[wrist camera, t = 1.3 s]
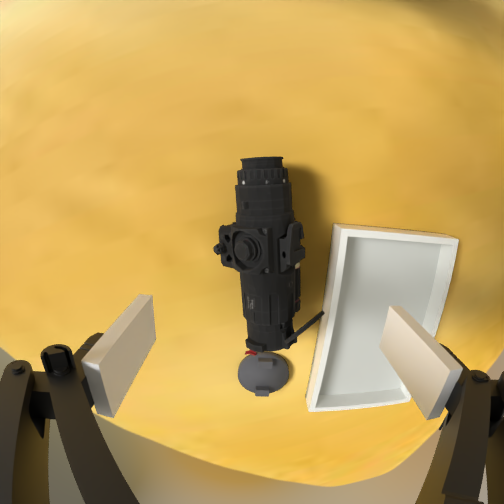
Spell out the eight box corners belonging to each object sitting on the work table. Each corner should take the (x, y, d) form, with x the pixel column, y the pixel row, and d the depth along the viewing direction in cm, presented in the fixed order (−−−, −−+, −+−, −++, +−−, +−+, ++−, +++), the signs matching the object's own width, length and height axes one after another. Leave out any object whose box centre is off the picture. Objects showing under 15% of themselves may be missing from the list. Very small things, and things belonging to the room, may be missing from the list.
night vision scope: (254, 160, 30) (344, 156, 24) (263, 316, 35) (339, 339, 29) (195, 163, 24) (296, 153, 18) (215, 345, 29) (298, 382, 23)
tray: (333, 222, 29) (341, 228, 26) (444, 233, 29) (458, 239, 26) (305, 396, 35) (308, 411, 32) (401, 388, 35) (409, 401, 32)
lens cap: (239, 348, 33) (238, 358, 31) (290, 350, 33) (292, 360, 31) (237, 386, 35) (237, 396, 33) (285, 388, 35) (286, 398, 33)
